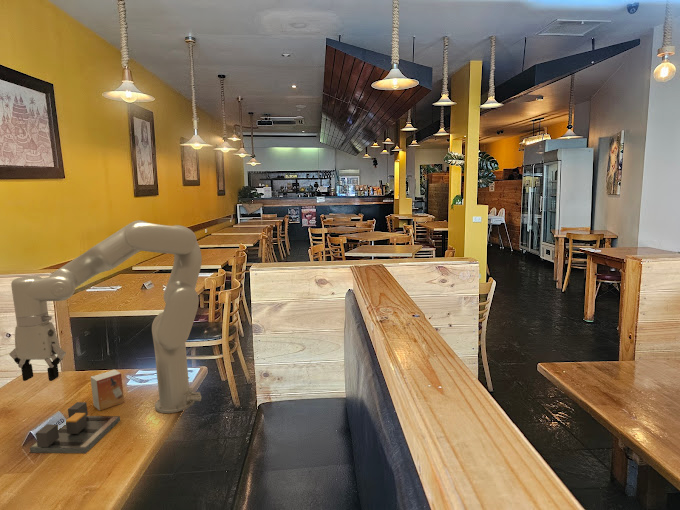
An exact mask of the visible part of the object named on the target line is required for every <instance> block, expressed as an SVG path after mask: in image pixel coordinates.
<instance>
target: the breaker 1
mask: <svg viewBox="0 0 680 510" xmlns="http://www.w3.org/2000/svg"><path fill="white" fill-rule="evenodd" d="M35 438H36V442H37V446H38V447H49V446H50V445H51V444H52V443H53V442H55V441H56V440H57V439H58V438H59V433H58V424H51V423H50V424H46V425H44V426H43V427H42V428H40V429H39V430H38V431H36V432H35Z"/></svg>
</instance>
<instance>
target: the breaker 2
mask: <svg viewBox="0 0 680 510" xmlns="http://www.w3.org/2000/svg"><path fill="white" fill-rule="evenodd" d="M67 413H68V418H70V417H71V416H72V415H74V414H75V413H86V416H89V412H88V405H87V402H86V401H81V402H80V401H79V402H78V401H77V402H75V403H74V404H73V405H72V406H69V408H67Z"/></svg>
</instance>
